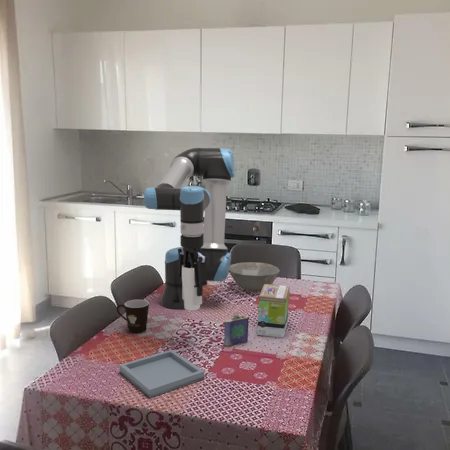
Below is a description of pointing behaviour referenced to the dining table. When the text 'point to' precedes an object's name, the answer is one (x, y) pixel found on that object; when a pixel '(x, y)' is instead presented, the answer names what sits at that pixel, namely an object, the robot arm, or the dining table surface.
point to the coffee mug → (136, 315)
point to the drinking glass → (188, 288)
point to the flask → (236, 330)
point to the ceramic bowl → (253, 275)
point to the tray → (161, 373)
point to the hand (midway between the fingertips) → (192, 301)
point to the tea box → (273, 310)
